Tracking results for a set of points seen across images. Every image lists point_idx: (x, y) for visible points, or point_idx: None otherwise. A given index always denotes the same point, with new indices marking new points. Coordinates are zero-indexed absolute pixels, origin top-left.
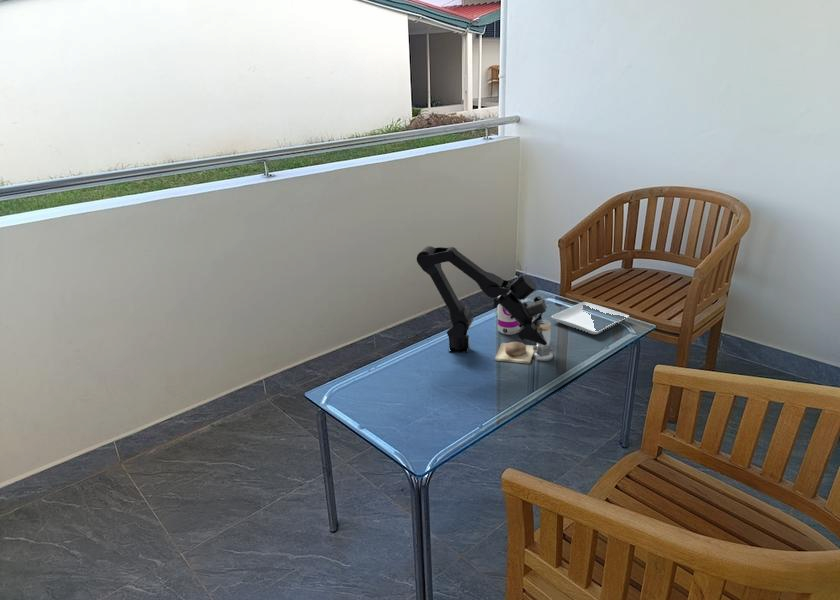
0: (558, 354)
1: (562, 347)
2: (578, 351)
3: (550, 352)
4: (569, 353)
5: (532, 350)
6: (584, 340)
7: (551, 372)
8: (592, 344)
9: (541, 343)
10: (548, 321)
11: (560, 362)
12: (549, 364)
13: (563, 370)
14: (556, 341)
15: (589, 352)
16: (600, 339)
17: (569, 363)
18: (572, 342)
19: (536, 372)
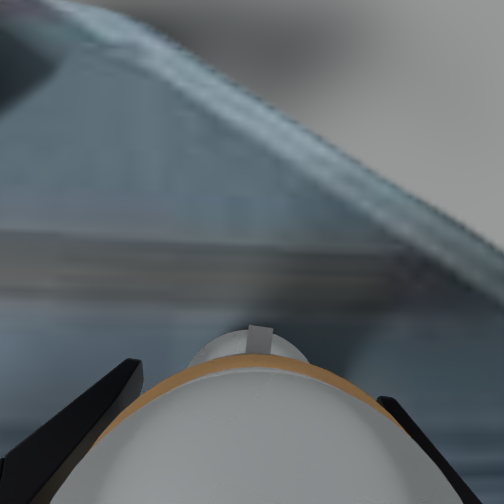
0: (210, 293)
1: (110, 265)
2: (168, 178)
3: (240, 347)
4: (195, 227)
5: None
6: (27, 140)
7: (459, 342)
8: (83, 106)
9: None
10: (188, 443)
11: (318, 283)
12: (355, 354)
13: (416, 268)
14: (16, 302)
15: (181, 126)
16: (26, 67)
17: (324, 232)
18: (45, 204)
19: (487, 448)
